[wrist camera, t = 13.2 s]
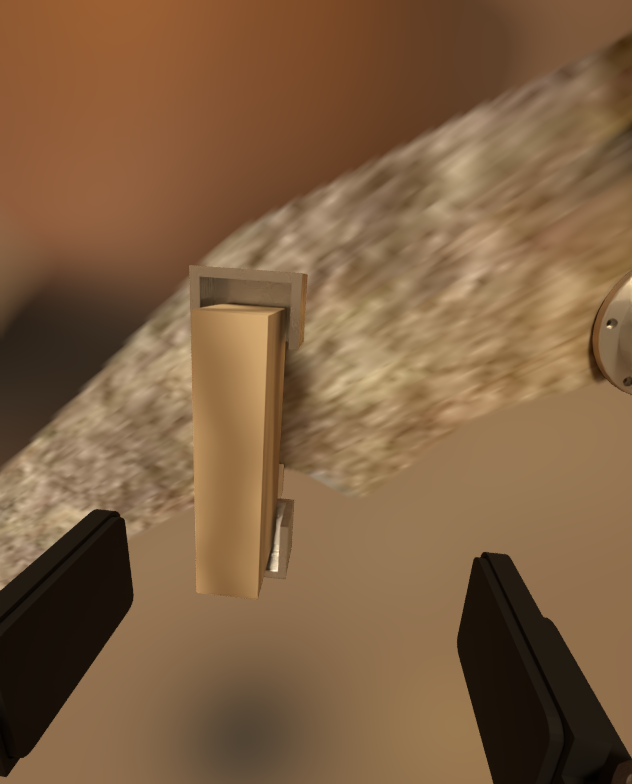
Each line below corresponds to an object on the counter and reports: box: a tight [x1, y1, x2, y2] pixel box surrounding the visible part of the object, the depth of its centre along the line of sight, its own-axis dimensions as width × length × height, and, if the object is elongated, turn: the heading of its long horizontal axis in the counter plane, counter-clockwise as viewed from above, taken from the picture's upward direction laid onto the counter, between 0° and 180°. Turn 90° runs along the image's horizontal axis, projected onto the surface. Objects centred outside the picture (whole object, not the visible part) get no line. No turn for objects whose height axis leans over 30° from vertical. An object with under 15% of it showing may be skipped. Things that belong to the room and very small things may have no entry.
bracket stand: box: [189, 265, 308, 579], centre depth 31 cm, size 7×22×11 cm, turn 176°
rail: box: [191, 303, 287, 599], centre depth 25 cm, size 4×18×7 cm, turn 176°
